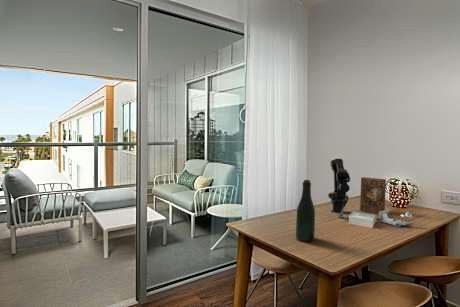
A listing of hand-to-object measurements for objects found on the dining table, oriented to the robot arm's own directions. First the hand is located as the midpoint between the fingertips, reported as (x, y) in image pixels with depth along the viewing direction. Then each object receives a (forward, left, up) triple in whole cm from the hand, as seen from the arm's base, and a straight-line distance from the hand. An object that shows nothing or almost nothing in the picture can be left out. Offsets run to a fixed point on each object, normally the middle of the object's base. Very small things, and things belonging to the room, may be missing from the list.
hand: (340, 211), depth 195 cm
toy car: (-8, +32, -5) cm, 33 cm away
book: (-30, +16, -5) cm, 34 cm away
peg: (0, 0, -4) cm, 5 cm away
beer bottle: (+52, -8, -5) cm, 53 cm away
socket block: (+3, +14, -4) cm, 15 cm away
